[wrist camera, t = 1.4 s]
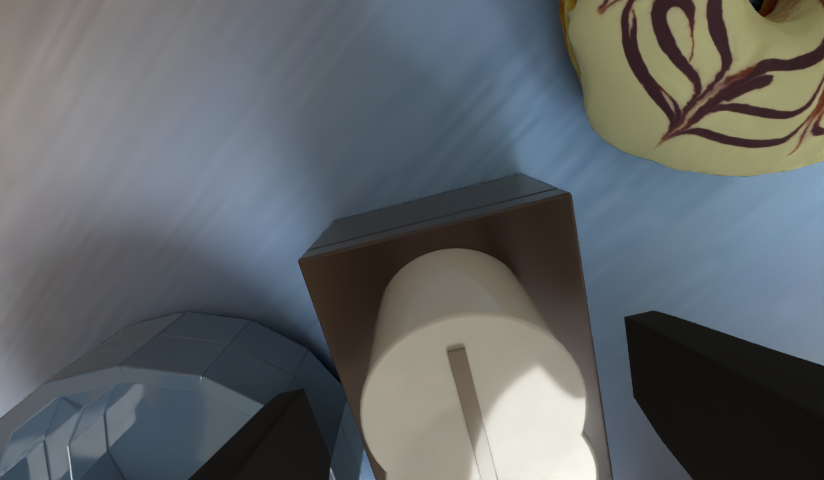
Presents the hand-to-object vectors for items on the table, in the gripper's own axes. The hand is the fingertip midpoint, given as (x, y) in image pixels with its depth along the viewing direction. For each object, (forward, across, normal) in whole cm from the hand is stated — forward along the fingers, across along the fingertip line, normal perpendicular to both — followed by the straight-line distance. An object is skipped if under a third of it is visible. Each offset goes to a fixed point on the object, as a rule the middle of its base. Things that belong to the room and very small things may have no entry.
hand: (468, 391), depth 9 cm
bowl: (+6, +11, +5) cm, 14 cm away
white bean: (+2, 0, 0) cm, 2 cm away
